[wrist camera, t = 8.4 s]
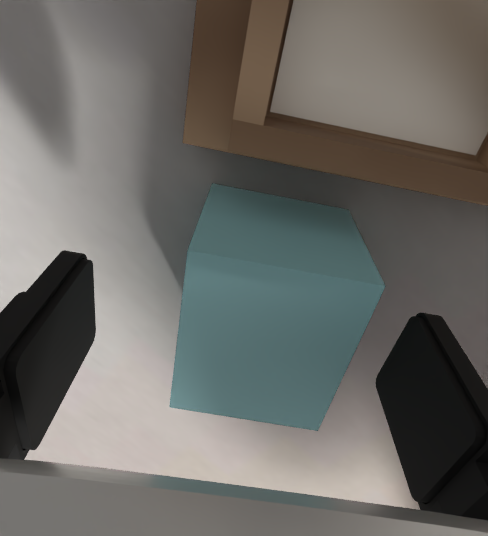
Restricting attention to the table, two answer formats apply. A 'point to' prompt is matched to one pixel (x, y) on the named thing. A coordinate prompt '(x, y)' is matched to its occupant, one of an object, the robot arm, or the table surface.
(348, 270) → the teal nearly cubic block
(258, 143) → the chassis
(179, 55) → the table surface
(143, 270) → the table surface
